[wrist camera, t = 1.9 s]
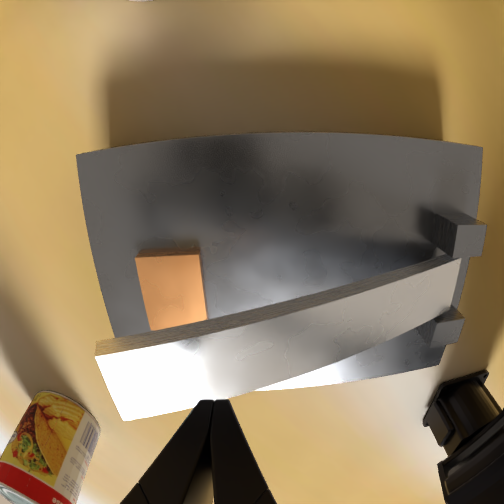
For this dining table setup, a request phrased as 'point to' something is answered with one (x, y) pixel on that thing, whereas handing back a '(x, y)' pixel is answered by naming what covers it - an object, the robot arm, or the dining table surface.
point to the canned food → (48, 452)
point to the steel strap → (270, 340)
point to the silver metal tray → (278, 229)
